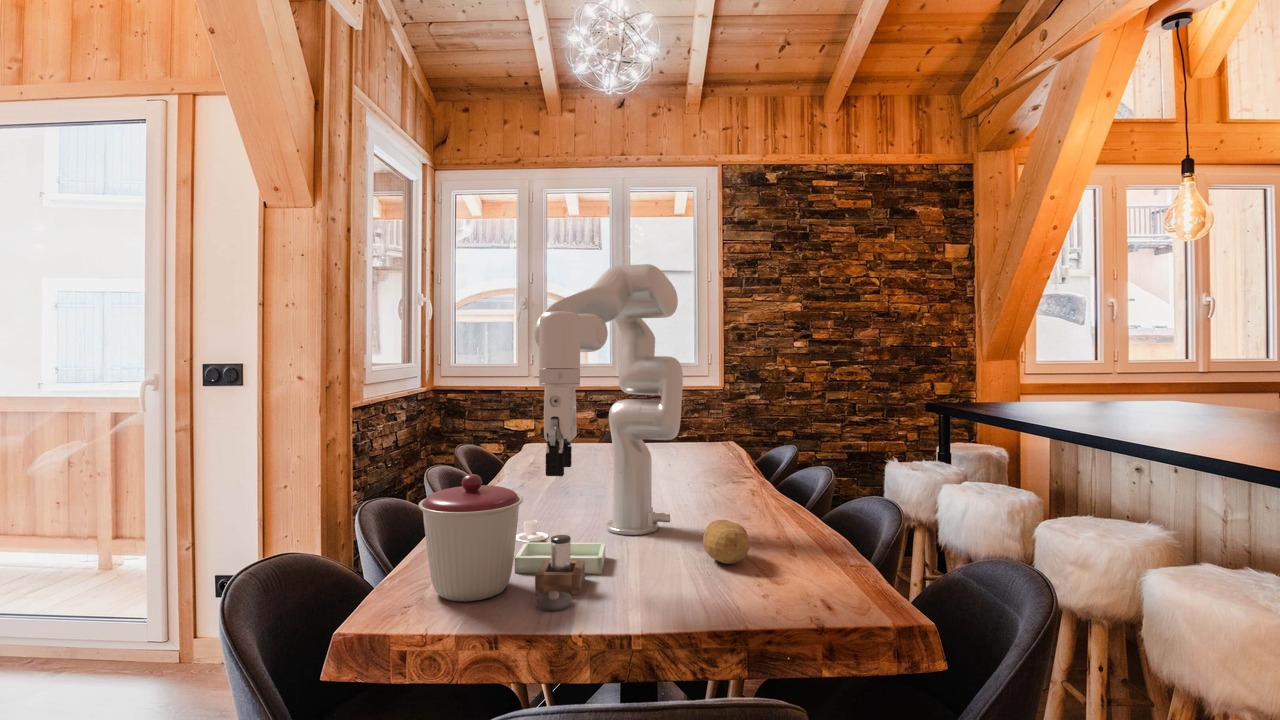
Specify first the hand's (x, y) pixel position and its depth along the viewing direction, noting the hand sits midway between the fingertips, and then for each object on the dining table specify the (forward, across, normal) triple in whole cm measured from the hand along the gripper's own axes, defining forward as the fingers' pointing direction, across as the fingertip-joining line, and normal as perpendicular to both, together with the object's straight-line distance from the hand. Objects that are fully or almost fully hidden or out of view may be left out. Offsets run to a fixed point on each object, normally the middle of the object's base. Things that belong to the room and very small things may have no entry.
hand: (559, 471), depth 117 cm
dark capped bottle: (+21, 0, 0) cm, 21 cm away
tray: (+21, +12, +1) cm, 24 cm away
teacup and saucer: (+21, +28, +13) cm, 38 cm away
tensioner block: (+21, -4, -1) cm, 22 cm away
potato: (+21, +15, -32) cm, 41 cm away
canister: (+21, -3, +15) cm, 26 cm away
